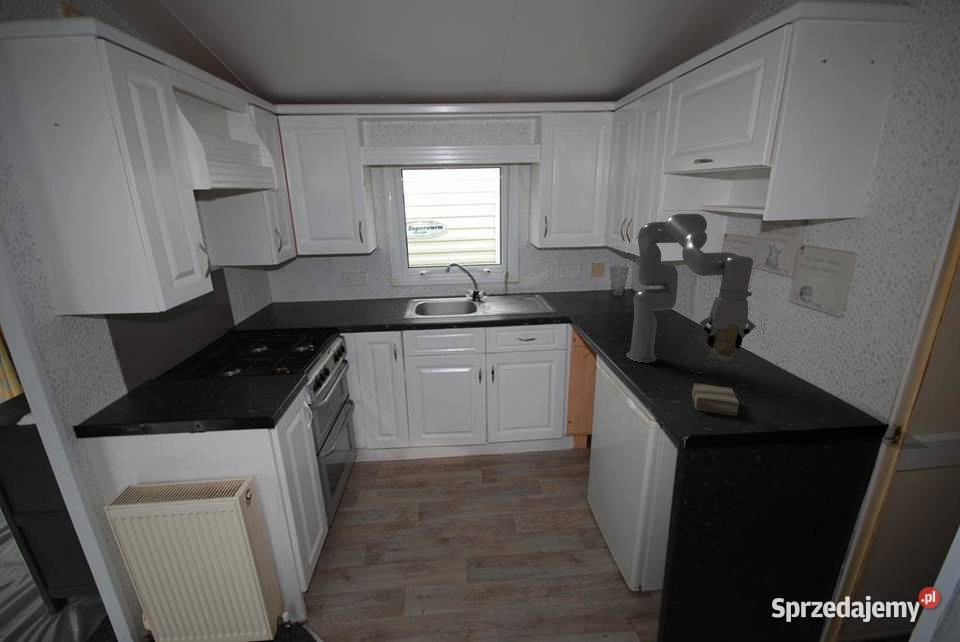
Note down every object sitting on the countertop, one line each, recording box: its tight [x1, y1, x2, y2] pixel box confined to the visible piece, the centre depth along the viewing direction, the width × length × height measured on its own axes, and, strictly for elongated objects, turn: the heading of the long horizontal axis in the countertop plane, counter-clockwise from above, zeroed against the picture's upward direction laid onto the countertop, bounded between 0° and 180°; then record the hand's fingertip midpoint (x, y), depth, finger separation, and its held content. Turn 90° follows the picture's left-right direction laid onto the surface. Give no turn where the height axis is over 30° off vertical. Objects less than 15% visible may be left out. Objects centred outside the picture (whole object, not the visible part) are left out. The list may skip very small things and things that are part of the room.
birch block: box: [691, 382, 740, 417], centre depth 139 cm, size 12×12×5 cm
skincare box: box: [708, 326, 738, 362], centre depth 133 cm, size 6×4×12 cm
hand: (723, 346), depth 134 cm, fingers closed on skincare box, 7 cm apart
